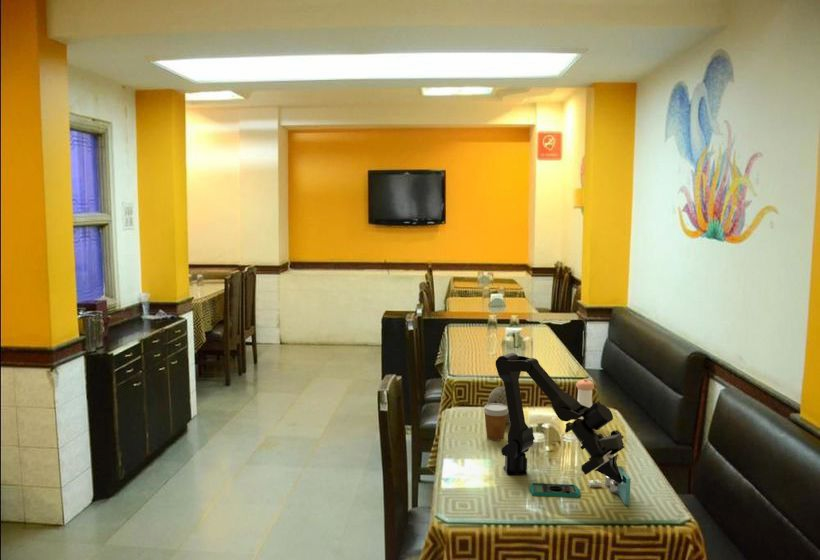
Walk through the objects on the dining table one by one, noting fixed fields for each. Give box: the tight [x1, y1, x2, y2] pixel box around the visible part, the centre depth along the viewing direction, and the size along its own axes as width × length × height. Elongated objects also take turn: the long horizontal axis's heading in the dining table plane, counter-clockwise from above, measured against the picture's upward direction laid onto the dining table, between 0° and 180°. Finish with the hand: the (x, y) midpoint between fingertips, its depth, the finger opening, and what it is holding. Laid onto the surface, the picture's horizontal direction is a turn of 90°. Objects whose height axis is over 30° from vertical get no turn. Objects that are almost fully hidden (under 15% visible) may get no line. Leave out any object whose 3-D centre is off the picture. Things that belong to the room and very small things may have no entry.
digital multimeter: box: [529, 482, 581, 499], centre depth 202 cm, size 7×15×3 cm, turn 84°
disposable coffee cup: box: [482, 403, 508, 441], centre depth 250 cm, size 10×10×12 cm
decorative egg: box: [486, 385, 510, 424], centre depth 266 cm, size 12×12×15 cm
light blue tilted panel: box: [609, 465, 632, 506], centre depth 198 cm, size 12×4×8 cm, turn 179°
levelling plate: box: [587, 475, 612, 488], centre depth 201 cm, size 10×14×4 cm
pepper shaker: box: [575, 378, 595, 419], centre depth 262 cm, size 7×7×19 cm
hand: (621, 482), depth 195 cm, fingers closed
